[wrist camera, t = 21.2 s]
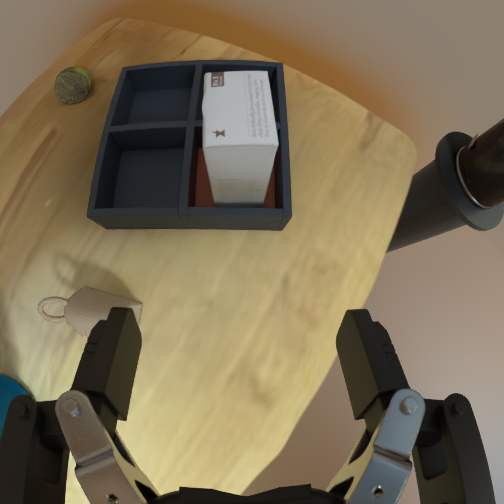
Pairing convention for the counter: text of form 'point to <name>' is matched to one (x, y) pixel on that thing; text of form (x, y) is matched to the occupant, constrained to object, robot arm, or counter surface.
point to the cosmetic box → (238, 136)
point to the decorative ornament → (87, 309)
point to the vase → (8, 396)
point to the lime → (73, 84)
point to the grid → (177, 153)
